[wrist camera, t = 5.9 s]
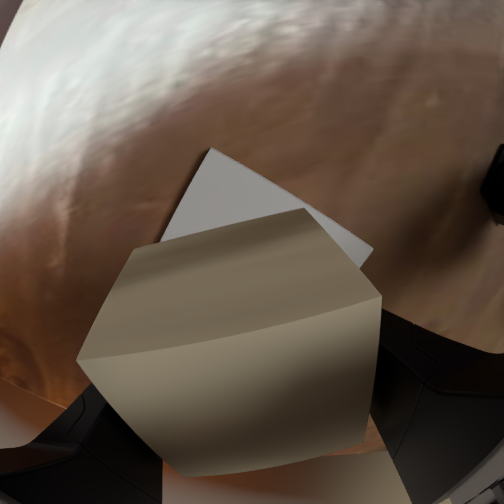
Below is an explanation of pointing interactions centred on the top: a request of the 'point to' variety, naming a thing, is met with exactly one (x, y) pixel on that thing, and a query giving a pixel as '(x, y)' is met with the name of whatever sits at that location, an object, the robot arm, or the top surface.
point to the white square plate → (245, 204)
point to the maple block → (239, 346)
